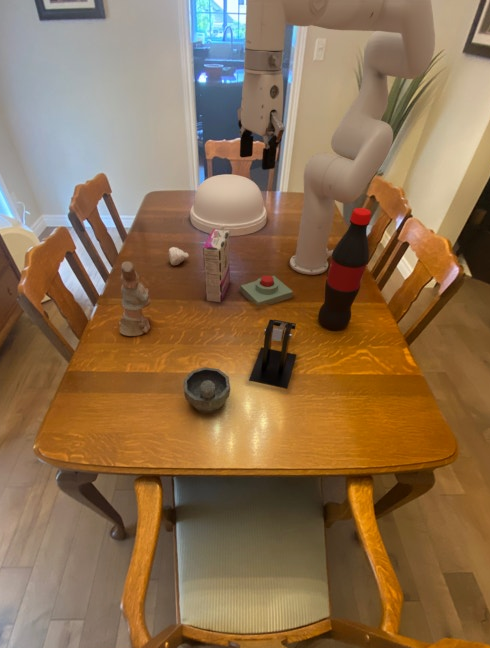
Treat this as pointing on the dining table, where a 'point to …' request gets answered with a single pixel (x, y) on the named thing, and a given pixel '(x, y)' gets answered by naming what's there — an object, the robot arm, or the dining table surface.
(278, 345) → the dining table surface
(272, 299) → the control block
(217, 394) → the mortar and pestle
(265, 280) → the button
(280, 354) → the bracket
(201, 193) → the dome cover
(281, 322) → the lever
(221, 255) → the candy bar box
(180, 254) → the garlic bulb
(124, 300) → the figurine
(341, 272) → the cola bottle
